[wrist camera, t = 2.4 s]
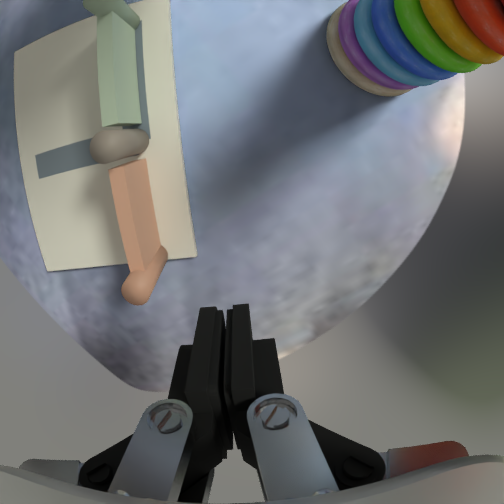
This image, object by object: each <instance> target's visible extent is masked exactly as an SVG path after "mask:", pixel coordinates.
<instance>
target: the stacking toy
mask: <svg viewBox="0 0 504 504" xmlns="http://www.w3.org/2000/svg"><path fill="white" fill-rule="evenodd" d="M326 38H327V44H328V48H329V52H330V54H331V56H332V59H333V61H334V62H335V64H336V65H337V67H338V68H339V70H340V71H341V72H342V73H343V75H344V76H345V77H346V78H347V79H349V80H350V81H351V82H352V83H353V84H355V85H356V86H358V87H359V88H361V89H363V90H365V91H367V92H370V93H373V94H376V95H380V96H397V95H402V94H404V93H406V92H408V91H410V90H411V89H413V88H416V87H419V86H427V85H431V84H434V83H436V82H438V81H439V80H444V79H448V78H450V77H453V76H454V75H456V74H457V73H466V72H471V71H473V70H475V69H477V68H478V67H479V66H481V65H482V64H491V63H494V62H497V61H498V60H500V59H501V58H502V57H503V56H504V0H349V1H348V2H346V3H344V4H343V5H341V6H340V7H339V8H338V9H336V10H335V12H334V13H333V14H332V16H331V18H330V20H329V23H328V26H327V34H326Z"/></svg>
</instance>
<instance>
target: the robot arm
mask: <svg viewBox="0 0 504 504" xmlns="http://www.w3.org/2000/svg"><path fill="white" fill-rule="evenodd" d="M233 433H234V436H235V441H236V445H237V448H238V449H241V452H242V456H243V460H244V461H245V462H246V463H248V464H250V465H251V466H252V467H254V468H255V469H257V474H258V477H259V482H260V485H261V489H262V493H263V496H264V500H265V502H255V503H235V504H504V456H501V455H488V454H487V455H473V456H469V454H468V452H467V450H466V448H465V447H464V446H463V445H462V444H460V443H458V442H455V441H444V442H438V443H432V444H427V445H419V446H412V447H404V448H394V449H388V451H387V452H381V453H378V452H376V451H374V450H372V449H371V448H368V447H366V446H363V445H361V444H359V443H357V442H354V441H352V440H350V439H348V438H345V437H343V436H341V435H339V434H337V433H335V432H332V431H330V430H328V429H326V428H324V427H322V426H320V425H318V424H316V423H314V422H312V421H310V420H308V419H307V417H306V415H305V412H304V410H303V408H302V406H301V404H300V403H299V401H297V400H296V399H295V398H293V397H291V396H288V395H286V394H284V391H283V385H282V379H281V373H280V367H279V361H278V355H277V350H276V344H275V339H274V338H271V339H261V340H253V338H252V329H251V320H250V311H249V304H239V305H233V309H229V310H227V320H226V326H225V320H224V314H223V310H217V307H203V308H200V311H199V316H198V321H197V326H196V331H195V336H194V342H193V345H181V346H180V348H179V352H178V356H177V360H176V365H175V369H174V373H173V378H172V382H171V386H170V391H169V396H168V399H165V400H160V401H158V402H155V403H153V404H152V405H150V406H149V407H148V408H147V409H146V410H145V412H144V413H143V415H142V417H141V419H140V421H139V424H138V425H137V428H136V430H135V432H134V434H132V435H130V436H129V437H127V438H125V439H124V440H122V441H120V442H119V443H117V444H115V445H113V446H112V447H110V448H108V449H106V450H105V451H103V452H101V453H99V454H98V455H96V456H94V457H92V458H90V459H89V460H88V461H86V462H85V463H81V462H80V461H79V460H76V461H74V460H72V461H71V460H68V461H67V460H42V459H30V460H27V461H25V462H23V463H22V465H20V467H19V468H14V467H9V466H2V465H0V504H208V500H209V495H210V491H211V486H212V482H213V478H214V467H216V466H217V465H218V464H219V463H221V462H222V459H227V450H232V449H233ZM232 504H234V503H232Z"/></svg>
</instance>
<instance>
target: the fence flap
mask: <svg viewBox="0 0 504 504" xmlns="http://www.w3.org/2000/svg"><path fill="white" fill-rule="evenodd" d="M148 145H149V136H148V134H147V133H146V132H145V131H144V130H142V129H118V130H103V131H100V132H98V133H96V134H95V135H94V137H93V138H92V140H91V142H90V154H91V156H92V158H93V159H94V160H95V161H96V162H98V163H100V164H107V163H111V162H114V161H117V160H120V159H123V158H127V157H130V156H133V155H137V154H140V153H142V152H144V151H145V150H146V149H147V147H148ZM108 171H109V177H110V182H111V188H112V194H113V199H114V204H115V209H116V214H117V219H118V223H119V228H120V232H121V237H122V241H123V245H124V249H125V253H126V257H127V261H128V265H129V269H130V274H129V275H128V277H127V278H126V280H125V281H124V283H123V285H122V288H121V292H122V295H123V297H124V298H125V300H126V301H128V302H129V303H131V304H133V305H143V304H145V303H146V302H147V301H148V299H149V297H150V295H151V293H152V291H153V289H154V287H155V285H156V282H157V280H158V278H159V276H160V274H161V272H162V270H163V268H164V266H165V264H166V262H167V260H168V252H167V250H166V249H165V248H164V247H163V246H162V245H161V243H160V238H159V233H158V227H157V222H156V217H155V211H154V205H153V200H152V194H151V188H150V181H149V175H148V168H147V161H146V158H145V159H139V160H134V161H131V162H128V163H125V164H122V165H119V166H117V167H114V168H111V169H108Z"/></svg>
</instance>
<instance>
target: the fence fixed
mask: <svg viewBox="0 0 504 504" xmlns="http://www.w3.org/2000/svg"><path fill="white" fill-rule="evenodd" d="M83 6H84V8H85V9H87V10H88V11H90V12H91V13H93V14H94V15H96V16H97V64H98V83H99V97H100V108H101V118H102V127H116V126H132V125H136V124H141V123H142V121H141V112H140V102H139V91H138V78H137V64H136V45H135V30H136V29H137V27H138V26H139V23H140V18H139V16H138V15H137V14H136V13H135V12H134V11H133V10H132V9H131V8H130V7H129V5H128V4H127V3H126V2H125V1H124V0H83Z"/></svg>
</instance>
